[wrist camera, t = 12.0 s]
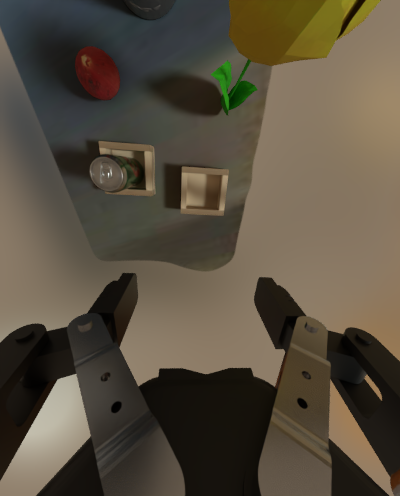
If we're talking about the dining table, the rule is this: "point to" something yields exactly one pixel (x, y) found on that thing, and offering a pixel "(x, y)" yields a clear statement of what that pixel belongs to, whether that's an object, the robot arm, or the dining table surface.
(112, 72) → the onion
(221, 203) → the oak endcap
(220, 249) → the dining table surface
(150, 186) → the oak endcap
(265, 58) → the flower
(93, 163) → the soda can
